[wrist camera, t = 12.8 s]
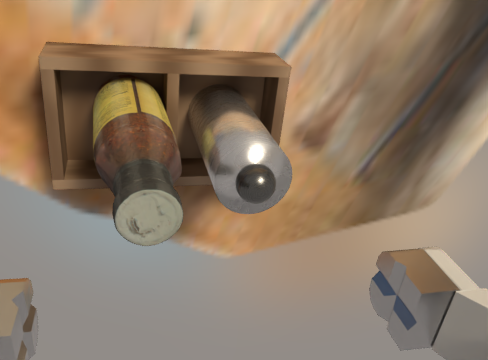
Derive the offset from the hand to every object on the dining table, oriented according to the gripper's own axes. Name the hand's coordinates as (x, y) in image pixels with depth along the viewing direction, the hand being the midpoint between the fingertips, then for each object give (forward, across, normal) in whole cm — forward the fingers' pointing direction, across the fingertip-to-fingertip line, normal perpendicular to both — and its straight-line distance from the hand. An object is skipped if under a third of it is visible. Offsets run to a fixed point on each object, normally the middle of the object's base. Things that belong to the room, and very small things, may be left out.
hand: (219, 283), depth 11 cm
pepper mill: (+35, -6, +9) cm, 37 cm away
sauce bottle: (+34, +2, +8) cm, 36 cm away
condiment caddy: (+35, -2, +9) cm, 36 cm away
